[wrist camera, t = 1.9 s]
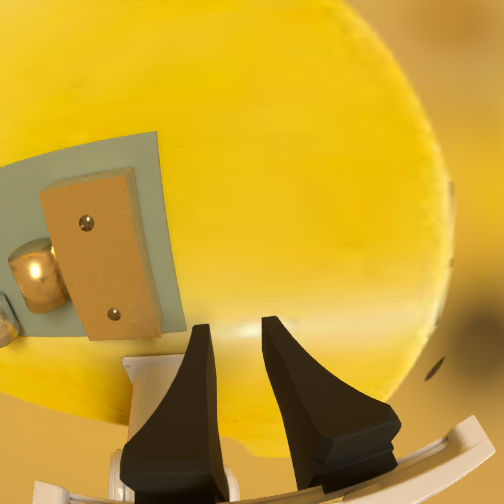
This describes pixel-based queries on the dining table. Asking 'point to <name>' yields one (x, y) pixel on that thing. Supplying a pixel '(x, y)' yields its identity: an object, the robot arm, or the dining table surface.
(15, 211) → the felt mat
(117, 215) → the brass leaf
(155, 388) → the robot arm
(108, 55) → the dining table surface
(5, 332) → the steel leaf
